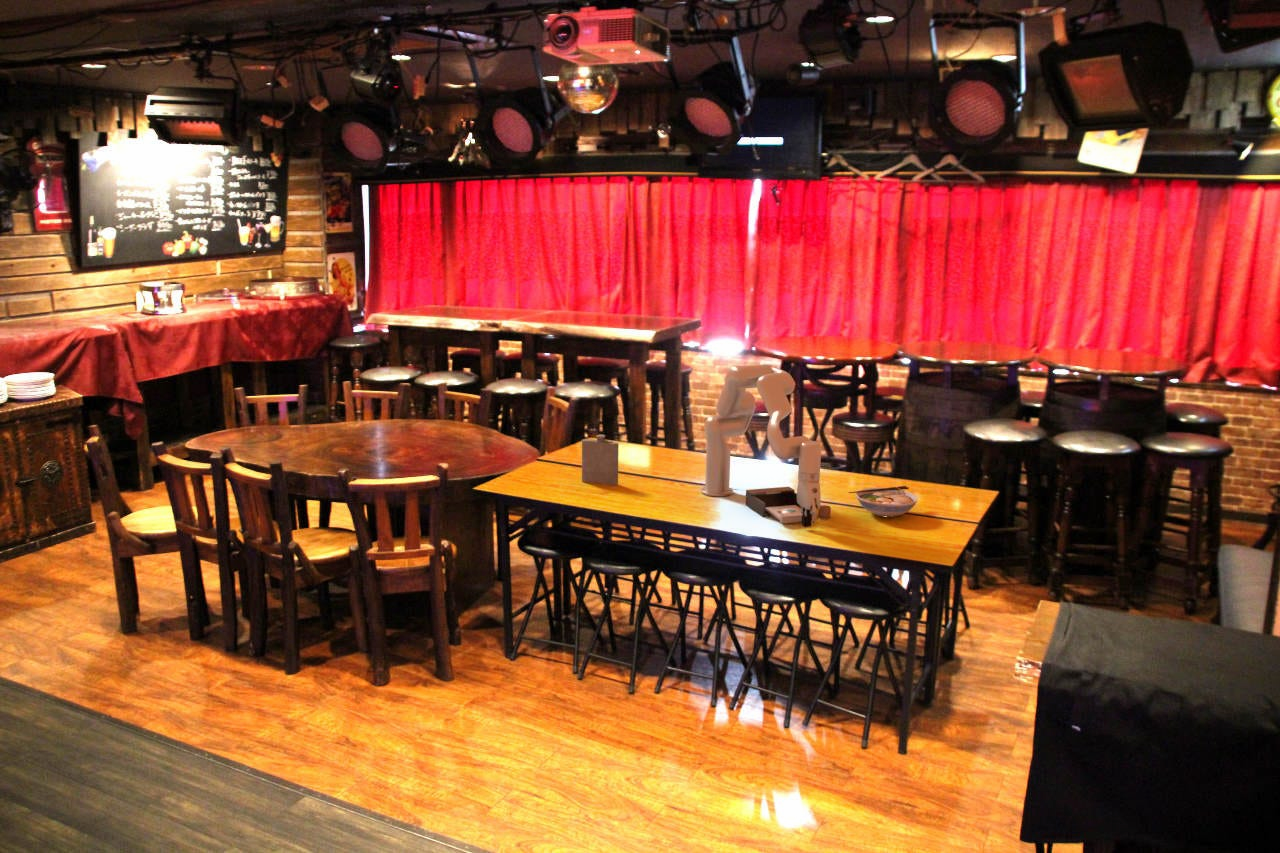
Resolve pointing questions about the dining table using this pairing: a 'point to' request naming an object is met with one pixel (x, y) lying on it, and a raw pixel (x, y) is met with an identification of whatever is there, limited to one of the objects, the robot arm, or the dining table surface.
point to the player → (770, 499)
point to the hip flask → (600, 461)
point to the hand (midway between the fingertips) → (806, 525)
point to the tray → (787, 518)
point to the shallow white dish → (790, 511)
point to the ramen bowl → (886, 500)
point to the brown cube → (824, 512)
